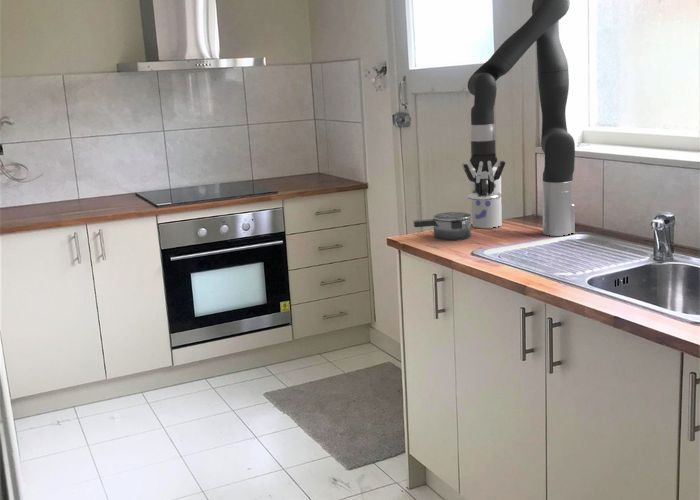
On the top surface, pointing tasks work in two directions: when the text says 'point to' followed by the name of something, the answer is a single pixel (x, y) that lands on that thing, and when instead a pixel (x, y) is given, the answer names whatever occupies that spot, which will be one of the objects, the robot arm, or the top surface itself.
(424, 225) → the pot
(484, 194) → the lid
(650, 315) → the top surface
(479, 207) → the container
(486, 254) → the top surface
